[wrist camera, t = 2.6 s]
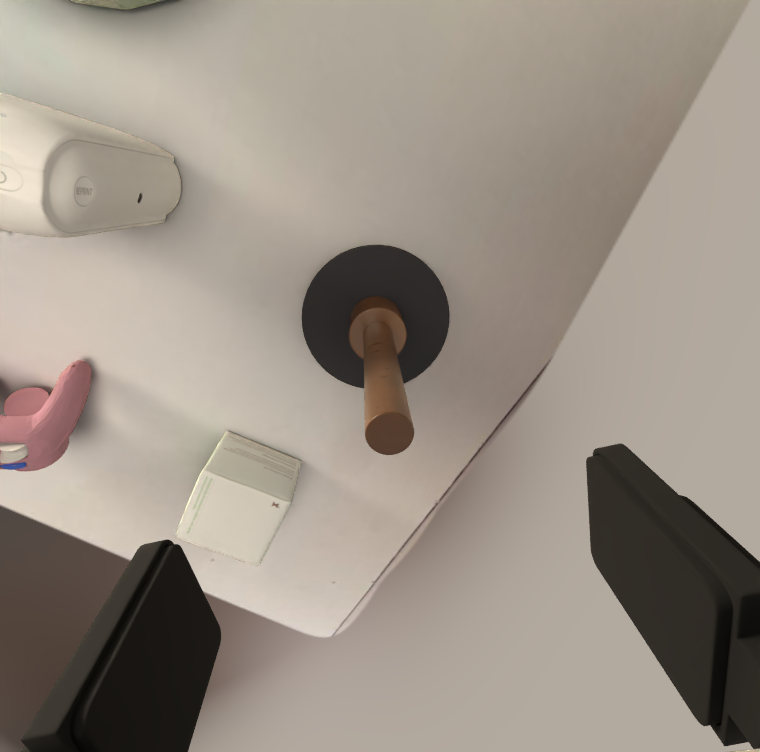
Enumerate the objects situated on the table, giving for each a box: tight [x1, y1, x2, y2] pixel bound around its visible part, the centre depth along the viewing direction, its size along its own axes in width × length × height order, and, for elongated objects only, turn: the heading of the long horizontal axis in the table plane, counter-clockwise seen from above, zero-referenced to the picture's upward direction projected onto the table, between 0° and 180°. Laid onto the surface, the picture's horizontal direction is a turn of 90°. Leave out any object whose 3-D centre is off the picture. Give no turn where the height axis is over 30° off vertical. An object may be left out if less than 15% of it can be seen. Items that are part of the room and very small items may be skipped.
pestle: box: [349, 296, 414, 455], centre depth 21 cm, size 3×3×14 cm
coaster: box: [302, 245, 449, 388], centre depth 28 cm, size 9×9×1 cm
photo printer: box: [0, 92, 181, 237], centre depth 19 cm, size 10×4×12 cm, turn 73°
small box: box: [175, 431, 301, 566], centre depth 30 cm, size 6×6×5 cm
